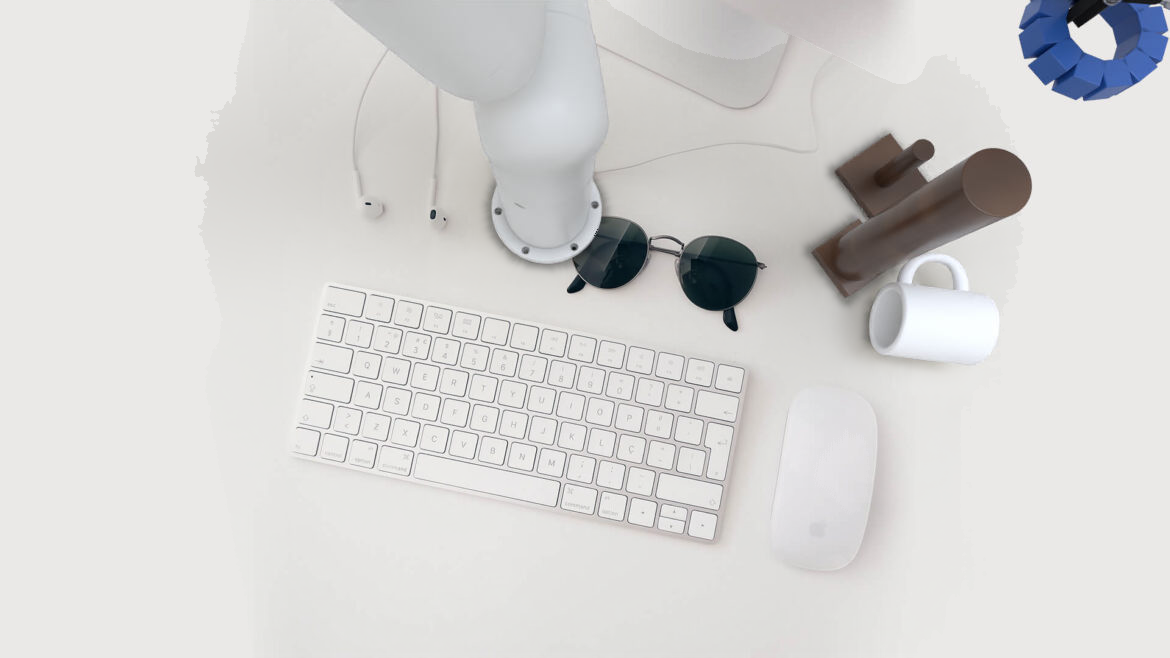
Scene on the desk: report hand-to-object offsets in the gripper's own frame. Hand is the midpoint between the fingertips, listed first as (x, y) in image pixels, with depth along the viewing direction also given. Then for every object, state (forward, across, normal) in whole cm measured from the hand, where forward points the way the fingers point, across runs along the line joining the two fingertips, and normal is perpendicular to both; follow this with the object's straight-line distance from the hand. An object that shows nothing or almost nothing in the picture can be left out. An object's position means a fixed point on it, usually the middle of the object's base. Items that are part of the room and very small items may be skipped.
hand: (1053, 3), depth 46 cm
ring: (0, +3, 0) cm, 3 cm away
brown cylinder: (+29, +9, -9) cm, 32 cm away
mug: (+30, +18, -6) cm, 35 cm away
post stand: (+29, +3, 0) cm, 30 cm away
